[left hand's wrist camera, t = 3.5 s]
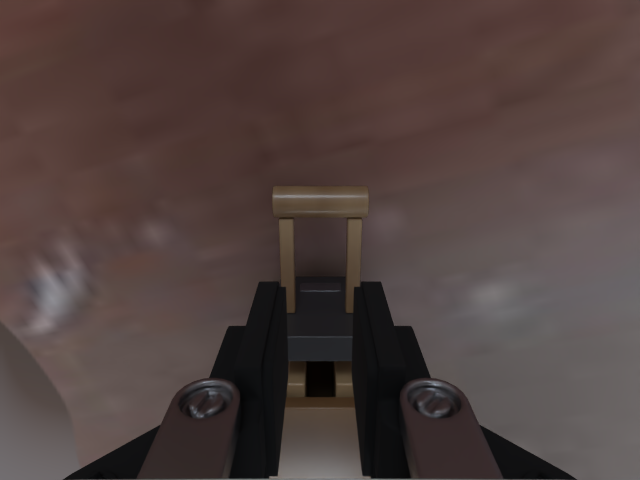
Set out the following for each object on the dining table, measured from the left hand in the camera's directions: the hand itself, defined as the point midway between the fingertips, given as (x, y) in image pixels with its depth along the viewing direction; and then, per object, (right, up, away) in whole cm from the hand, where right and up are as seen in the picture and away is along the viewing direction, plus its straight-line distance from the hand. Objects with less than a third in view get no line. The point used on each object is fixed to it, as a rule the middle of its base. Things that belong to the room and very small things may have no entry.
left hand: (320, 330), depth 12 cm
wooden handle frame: (0, -4, +12) cm, 13 cm away
